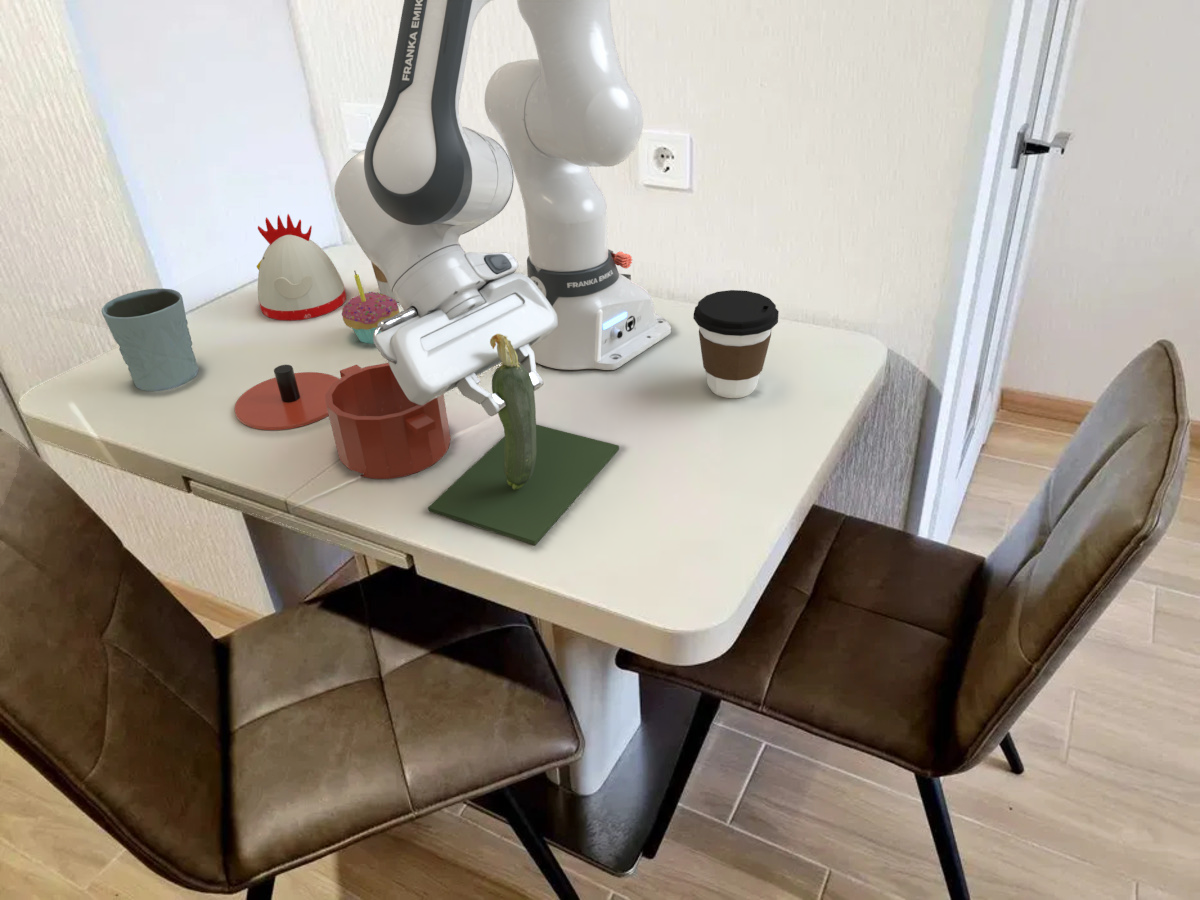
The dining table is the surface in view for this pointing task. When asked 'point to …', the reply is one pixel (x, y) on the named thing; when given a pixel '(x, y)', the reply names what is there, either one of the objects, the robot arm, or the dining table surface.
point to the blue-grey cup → (153, 337)
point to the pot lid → (285, 400)
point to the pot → (384, 424)
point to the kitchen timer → (296, 275)
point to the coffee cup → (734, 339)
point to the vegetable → (515, 413)
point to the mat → (526, 486)
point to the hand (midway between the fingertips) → (518, 400)
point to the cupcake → (367, 312)
